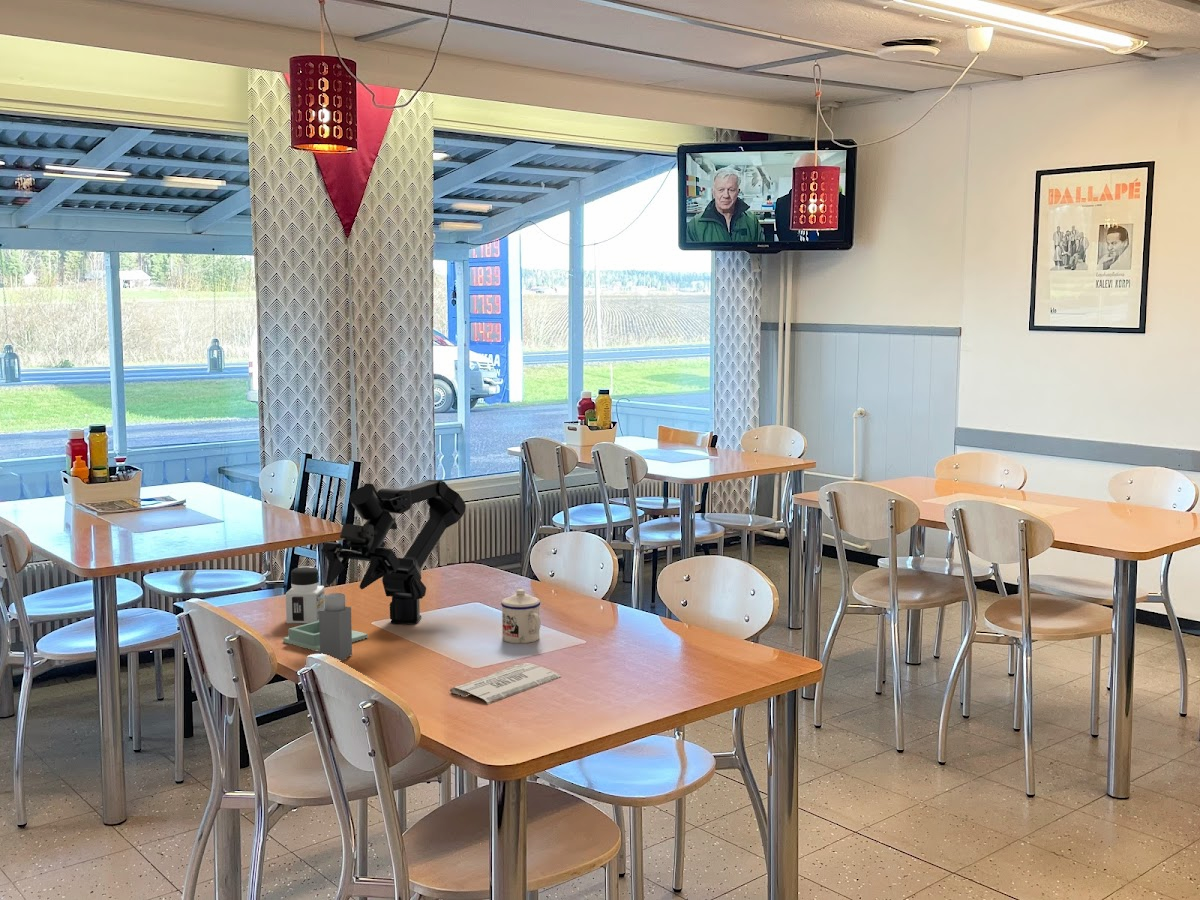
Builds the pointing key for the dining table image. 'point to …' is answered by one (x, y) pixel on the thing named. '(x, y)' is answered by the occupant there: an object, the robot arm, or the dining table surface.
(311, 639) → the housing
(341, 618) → the upright grey pillar
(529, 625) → the teacup with lid
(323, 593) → the container
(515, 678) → the newspaper
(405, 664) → the dining table surface
